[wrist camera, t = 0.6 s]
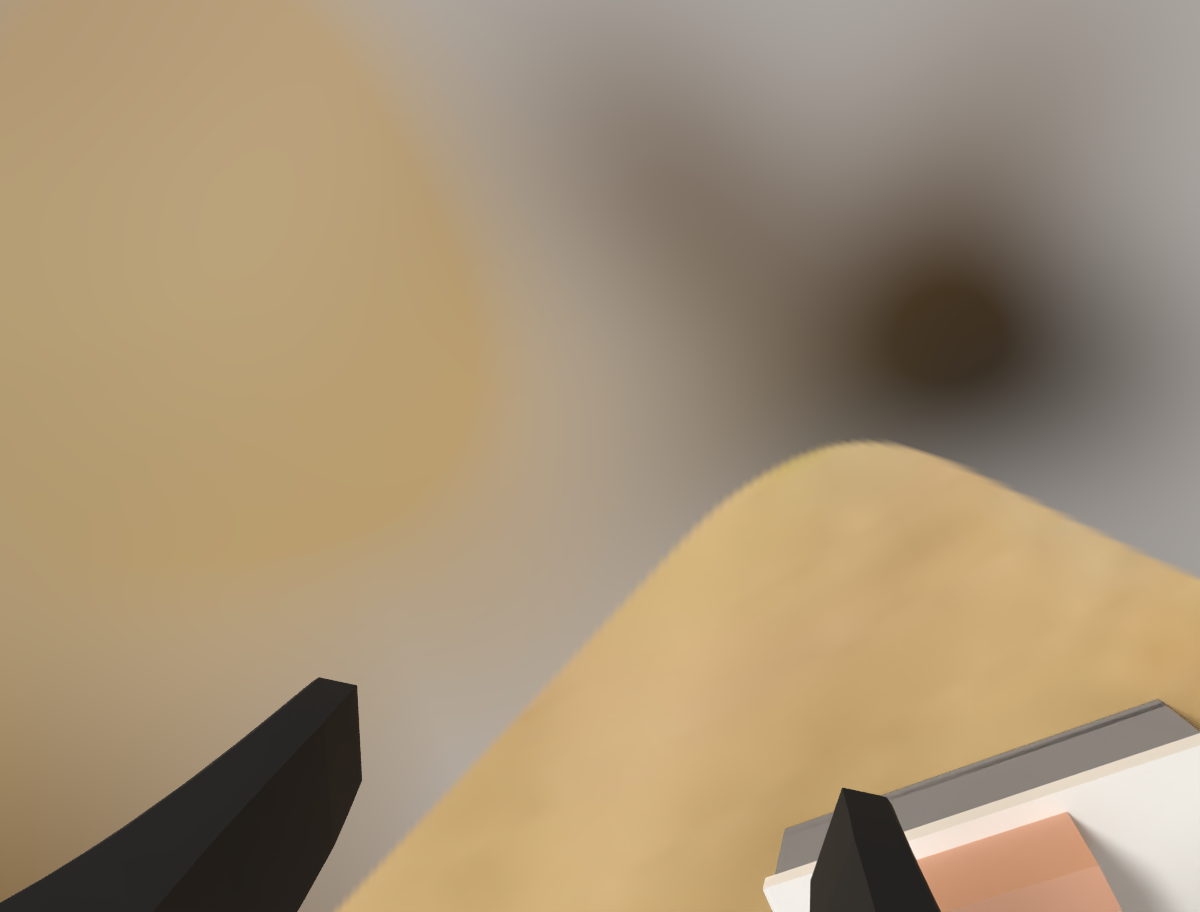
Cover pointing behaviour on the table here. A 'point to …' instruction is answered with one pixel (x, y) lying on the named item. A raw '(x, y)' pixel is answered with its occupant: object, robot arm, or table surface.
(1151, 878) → the carton lid
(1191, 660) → the table surface
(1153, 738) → the carton
